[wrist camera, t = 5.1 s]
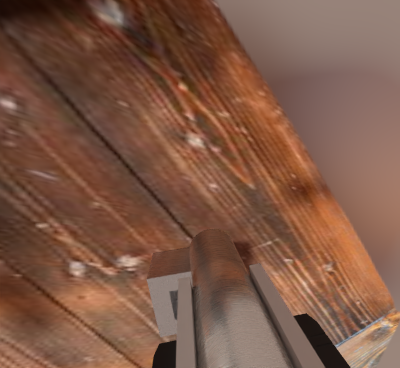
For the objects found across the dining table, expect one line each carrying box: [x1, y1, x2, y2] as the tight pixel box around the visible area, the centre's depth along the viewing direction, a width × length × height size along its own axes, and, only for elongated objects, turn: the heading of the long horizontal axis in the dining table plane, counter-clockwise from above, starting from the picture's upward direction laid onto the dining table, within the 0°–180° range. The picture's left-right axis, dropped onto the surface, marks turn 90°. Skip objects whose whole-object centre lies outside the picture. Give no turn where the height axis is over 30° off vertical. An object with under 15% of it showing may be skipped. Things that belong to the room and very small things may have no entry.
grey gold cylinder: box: [190, 229, 295, 368], centre depth 11 cm, size 5×5×14 cm
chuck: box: [147, 247, 192, 337], centre depth 34 cm, size 21×11×6 cm, turn 8°
